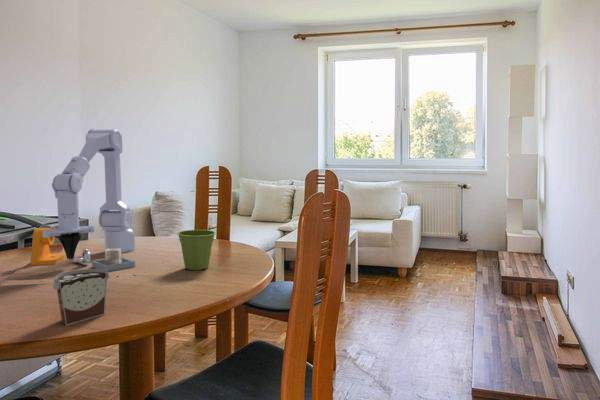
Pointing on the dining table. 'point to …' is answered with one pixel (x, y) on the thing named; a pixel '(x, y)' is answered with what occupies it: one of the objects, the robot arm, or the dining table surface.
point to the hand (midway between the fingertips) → (70, 258)
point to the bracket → (43, 249)
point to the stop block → (113, 256)
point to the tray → (113, 265)
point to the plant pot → (196, 248)
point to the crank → (83, 257)
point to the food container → (81, 294)
